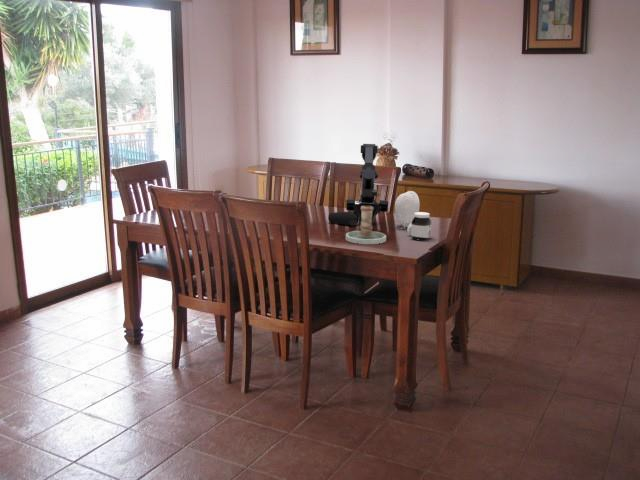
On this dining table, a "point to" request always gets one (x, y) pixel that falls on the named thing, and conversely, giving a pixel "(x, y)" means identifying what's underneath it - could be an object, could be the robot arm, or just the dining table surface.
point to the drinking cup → (344, 218)
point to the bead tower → (366, 220)
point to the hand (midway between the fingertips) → (366, 221)
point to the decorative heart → (406, 207)
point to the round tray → (365, 238)
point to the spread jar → (420, 226)
